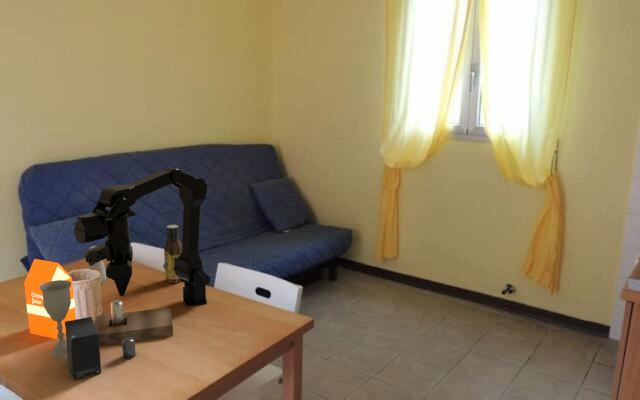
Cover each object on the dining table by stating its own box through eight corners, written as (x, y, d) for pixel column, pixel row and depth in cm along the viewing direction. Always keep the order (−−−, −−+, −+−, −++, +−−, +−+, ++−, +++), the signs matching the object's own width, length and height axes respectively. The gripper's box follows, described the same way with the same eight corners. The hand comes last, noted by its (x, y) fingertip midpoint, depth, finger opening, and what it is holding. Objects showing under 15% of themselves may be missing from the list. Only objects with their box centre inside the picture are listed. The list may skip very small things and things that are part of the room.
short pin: (135, 352, 127) (134, 336, 126) (135, 358, 124) (134, 341, 124) (123, 354, 126) (121, 337, 125) (122, 360, 123) (121, 343, 123)
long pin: (124, 329, 139) (122, 299, 137) (124, 334, 136) (122, 303, 134) (113, 330, 138) (110, 300, 136) (112, 335, 135) (110, 304, 134)
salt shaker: (110, 280, 174) (108, 244, 171) (102, 286, 168) (99, 249, 166) (94, 279, 175) (91, 243, 172) (85, 285, 169) (82, 249, 166)
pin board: (170, 316, 147) (170, 307, 147) (173, 335, 136) (172, 325, 136) (96, 325, 141) (95, 316, 140) (92, 346, 130) (92, 335, 129)
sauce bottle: (167, 277, 178) (165, 223, 174) (185, 277, 179) (183, 223, 174) (163, 284, 172) (160, 228, 167) (182, 284, 172) (180, 228, 168)
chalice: (84, 348, 129) (78, 282, 125) (62, 361, 122) (55, 292, 118) (61, 343, 131) (55, 278, 127) (39, 356, 125) (32, 288, 121)
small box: (103, 373, 118) (100, 332, 115) (72, 381, 114) (68, 339, 112) (95, 353, 126) (92, 315, 124) (66, 360, 123) (62, 321, 121)
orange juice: (52, 321, 143) (46, 254, 139) (77, 326, 140) (70, 258, 136) (29, 333, 136) (21, 263, 132) (54, 339, 133) (46, 267, 129)
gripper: (88, 227, 139) (93, 280, 143) (81, 248, 122) (87, 307, 126) (130, 224, 143) (134, 276, 147) (129, 243, 126) (134, 301, 129)
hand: (122, 289), depth 137 cm, fingers open, 9 cm apart
